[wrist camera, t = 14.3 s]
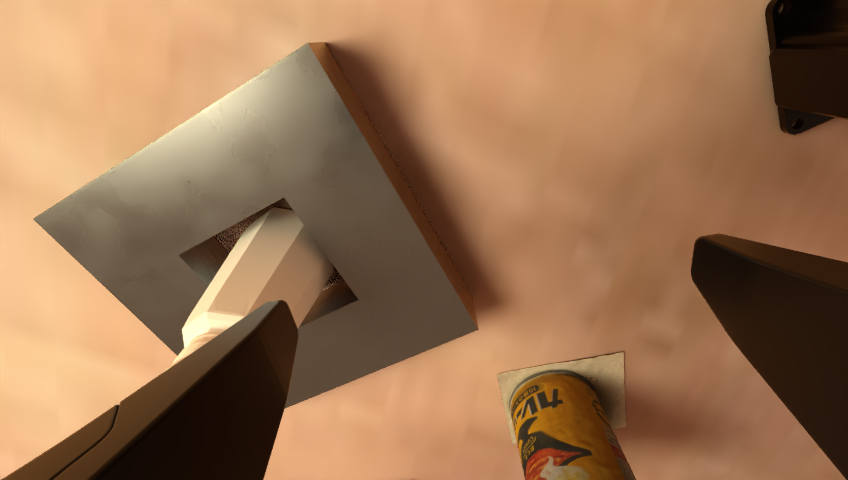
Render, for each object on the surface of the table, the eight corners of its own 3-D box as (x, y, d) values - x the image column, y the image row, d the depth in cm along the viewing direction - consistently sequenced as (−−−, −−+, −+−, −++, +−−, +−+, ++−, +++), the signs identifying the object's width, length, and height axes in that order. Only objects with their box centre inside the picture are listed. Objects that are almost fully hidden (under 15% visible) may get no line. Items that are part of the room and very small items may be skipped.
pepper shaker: (228, 216, 22) (72, 356, 12) (320, 195, 22) (233, 325, 12) (267, 295, 25) (161, 465, 15) (351, 278, 24) (299, 444, 14)
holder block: (325, 42, 18) (307, 42, 16) (472, 297, 25) (478, 329, 22) (81, 196, 22) (33, 219, 19) (265, 386, 28) (248, 422, 25)
